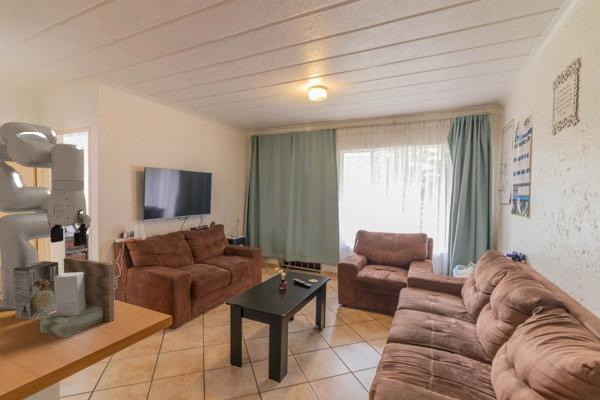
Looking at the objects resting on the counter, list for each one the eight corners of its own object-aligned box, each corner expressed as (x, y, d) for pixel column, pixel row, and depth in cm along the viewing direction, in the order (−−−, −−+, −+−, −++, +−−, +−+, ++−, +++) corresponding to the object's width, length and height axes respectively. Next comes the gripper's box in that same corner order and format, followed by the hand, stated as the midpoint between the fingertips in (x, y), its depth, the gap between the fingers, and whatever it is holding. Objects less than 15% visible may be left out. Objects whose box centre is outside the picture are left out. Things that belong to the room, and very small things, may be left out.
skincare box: (86, 309, 89) (85, 271, 88) (78, 316, 84) (78, 275, 84) (62, 311, 87) (62, 272, 87) (54, 318, 83) (53, 276, 82)
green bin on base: (24, 327, 85) (22, 267, 84) (69, 309, 97) (68, 257, 96) (72, 339, 79) (71, 275, 78) (114, 319, 91) (113, 263, 90)
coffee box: (45, 305, 100) (44, 260, 99) (60, 308, 98) (59, 261, 97) (14, 317, 91) (12, 267, 90) (30, 320, 89) (29, 269, 88)
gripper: (33, 185, 84) (34, 242, 85) (75, 188, 79) (75, 249, 80) (61, 185, 91) (62, 238, 92) (102, 187, 86) (101, 244, 87)
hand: (68, 243), depth 86 cm, fingers open, 9 cm apart
